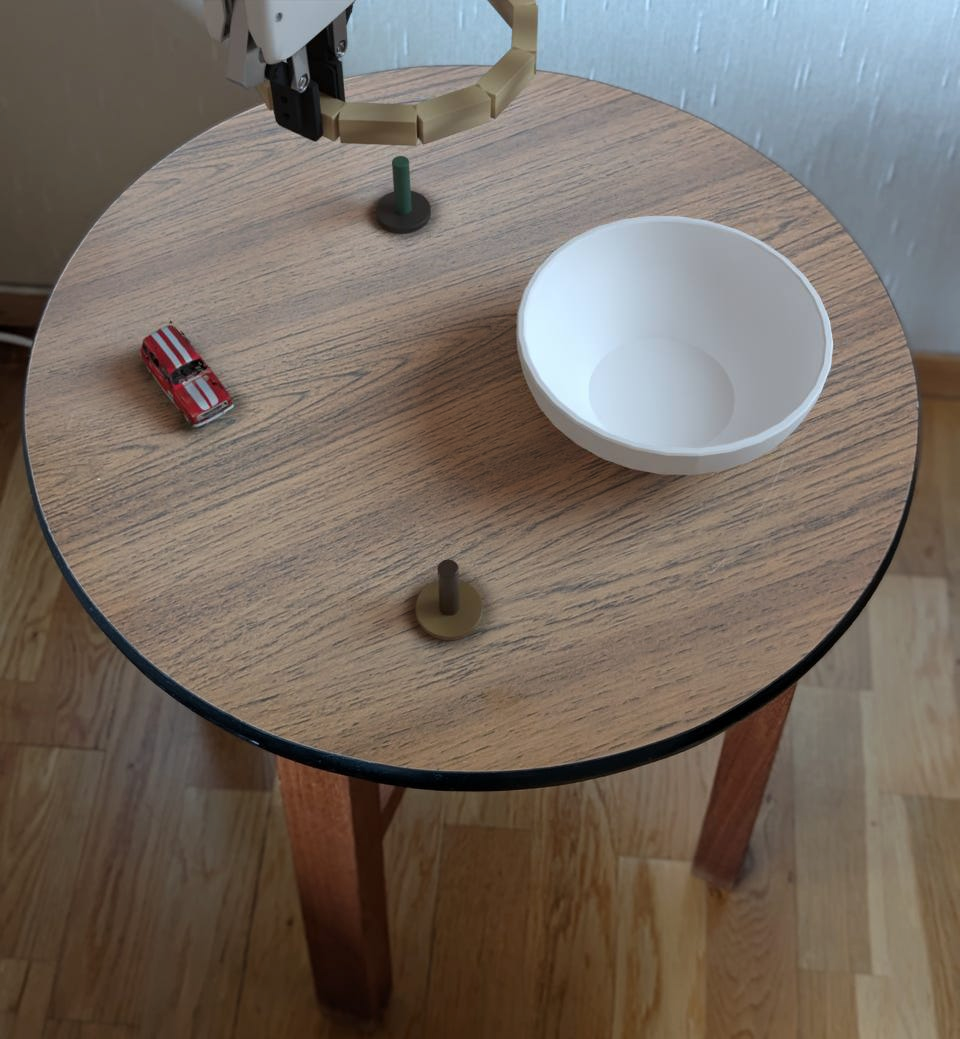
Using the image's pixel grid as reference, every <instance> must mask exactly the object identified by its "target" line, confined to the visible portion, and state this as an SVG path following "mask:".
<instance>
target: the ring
mask: <svg viewBox="0 0 960 1039" xmlns="http://www.w3.org/2000/svg"><path fill="white" fill-rule="evenodd" d="M486 1H487V3H489V4H490V6H492V8H493V9H494V10H495V11H496V13H497V14H498V15H499V16H500V17H501V18H502V20H503V21H504V22H505V23H506V24H507V26H508V27H509V28H510V29H511V45H510V46H511V48H510V49H508V50H507V52H506V53H505V54H504V55H503V56H502V57H501V58H500V59H498V60H497V62H496V63H495V64H494V65H493V66H492V67H491V68H490V69H489V70H488V71H487V72H486V73H485V74H484V75H483V76H482V77H481V78H480V79H479V80H477V82H476V83H475V84H472V85H469V86H466V87H463V88H461V89H457V90H453V91H451V92H449V93H446V94H441V95H439V96H436V97H434V98H430V99H427V100H424V101H421V102H419V103H415V104H411V103H409V104H408V103H381V102H379V103H378V102H355V101H353V102H351V101H346V102H343V101H341V100H338V99H336V98H333V97H331V96H329V95H327V94H324V93H322V92H320V91H319V97H320V106H321V119H322V129H323V136H322V137H323V138H325V139H327V140H330V141H332V142H336V141H337V140H338V139H339V141H340V144H349V145H350V144H352V145H380V146H403V147H404V146H405V147H406V146H407V147H417V146H418V140H419V142H420V143H421V145H427V144H430V143H433V142H436V141H439V140H442V139H445V138H447V137H451V136H454V135H456V134H459V133H463V132H466V131H468V130H471V129H474V128H477V127H479V126H480V127H481V126H483V125H485V124H489V123H491V119H493V120H496V119H497V118H498V117H499V116H500V115H501V114H502V113H503V112H504V111H505V109H507V108H508V107H509V105H511V104H512V103H513V101H514V100H515V99H516V98H517V97H518V96H519V95H520V94H521V93H522V92H523V91H524V89H525V88H527V87H528V86H529V85H530V83H531V82H532V81H533V80H534V79H535V75H536V74H537V60H538V58H537V57H538V36H539V35H538V32H539V31H538V28H539V5H538V4H537V1H536V0H486ZM253 88H254V90H255V91H256V92H257V94H258V95H259V97H260V98H261V100H262V102H263V103H264V105H265V106H266V108H267V109H268V110H269V112H271V111H273V112H274V108H273V101H272V94H271V87H270V80H267V81H265V82H264V83H263V84H260V85H258V86H255V87H253Z"/></svg>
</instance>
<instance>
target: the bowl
mask: <svg viewBox="0 0 960 1039" xmlns="http://www.w3.org/2000/svg"><path fill="white" fill-rule="evenodd" d="M832 333H833V332H832V326H831V321H830V318H829V315H828V312H827V310H826V308H825V306H824V304H823V301H822V299H821V296H820V295H819V293H818V292H817V290H816V289H815V288H814V286H813V285H812V284H811V282H810V281H809V279H808V277H807V276H806V275H805V274H804V273H803V272H802V271H800V269H799V268H798V267H797V266H796V265H794V263H792V261H790V260H789V259H788V258H787V257H786V256H785V255H783V254H782V253H780V251H779V252H778V251H777V250H775V249H774V248H773V247H771V246H770V245H769V244H767V243H766V242H764V241H762V240H760V239H758V238H756V237H754V236H752V235H751V234H747V233H746V232H744V231H741V230H739V229H737V228H733V227H731V226H727V225H724V224H720V223H717V222H714V221H711V220H706V219H700V218H693V217H687V216H682V215H646V216H645V215H644V216H639V217H631V218H629V217H628V218H623V219H619V220H616V221H612V222H608V223H605V224H601V225H598V226H595V227H593V228H591V229H588V230H586V231H584V232H582V233H580V234H578V235H576V236H574V237H571V238H570V239H569V240H567V241H566V242H565V243H563V244H562V245H560V246H559V247H557V248H556V249H555V250H553V251H552V252H550V254H549V255H548V256H547V257H546V258H545V259H544V260H542V262H541V263H540V264H539V265H538V266H537V267H536V269H535V270H534V271H533V273H532V274H531V276H530V278H529V279H528V282H527V283H526V285H525V287H524V289H523V290H522V293H521V297H520V301H519V304H518V308H517V311H516V350H517V354H518V359H519V362H520V367H521V371H522V374H523V377H524V379H525V382H526V384H527V387H528V388H529V390H530V393H531V394H532V396H533V399H534V401H535V402H536V404H537V406H538V408H539V409H540V410H541V412H542V413H543V414H544V415H545V416H546V417H547V419H548V420H549V421H550V422H551V423H552V425H553V426H554V427H555V428H556V429H557V430H559V431H560V432H561V433H562V434H564V435H565V436H566V437H567V438H569V440H571V441H572V442H573V443H575V445H577V446H579V447H581V448H582V449H584V450H586V451H588V452H590V453H592V454H594V455H595V456H597V457H599V458H601V459H602V460H605V461H608V462H611V463H613V464H616V465H620V466H622V467H625V468H628V469H630V470H636V471H640V472H646V473H652V474H658V475H669V476H672V475H673V476H697V475H703V474H710V473H717V472H723V471H727V470H729V469H732V468H735V467H739V466H741V465H745V464H748V463H750V462H752V461H754V460H756V459H758V458H760V457H762V456H763V455H765V454H767V453H769V452H771V451H772V450H774V449H775V448H776V447H778V446H779V445H780V444H781V443H782V442H783V441H784V440H786V438H788V437H789V436H790V435H791V434H793V433H794V431H795V430H796V429H797V428H798V427H799V426H800V425H801V424H802V423H803V421H804V420H805V418H806V417H807V416H808V414H809V413H810V412H811V410H812V409H813V407H814V406H815V404H816V403H817V402H818V399H819V397H820V395H821V393H822V391H823V389H824V386H825V384H826V381H827V378H828V376H829V373H830V370H831V367H832V360H833V350H834V340H833V334H832Z"/></svg>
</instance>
